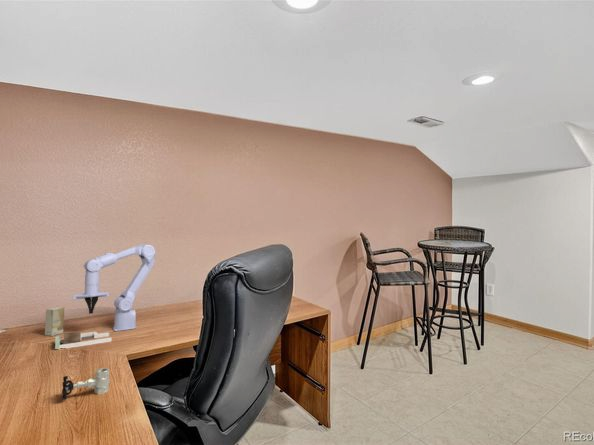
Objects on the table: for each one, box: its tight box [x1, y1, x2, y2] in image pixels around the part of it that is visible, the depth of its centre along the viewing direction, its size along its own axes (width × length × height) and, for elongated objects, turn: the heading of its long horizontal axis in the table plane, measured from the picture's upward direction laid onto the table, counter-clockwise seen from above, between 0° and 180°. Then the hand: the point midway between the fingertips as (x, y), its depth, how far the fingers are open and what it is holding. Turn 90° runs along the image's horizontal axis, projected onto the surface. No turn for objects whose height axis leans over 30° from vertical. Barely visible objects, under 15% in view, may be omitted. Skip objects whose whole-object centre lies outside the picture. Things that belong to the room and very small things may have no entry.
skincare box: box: [44, 306, 65, 337], centre depth 160 cm, size 6×4×12 cm
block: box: [63, 331, 82, 344], centre depth 146 cm, size 6×5×4 cm
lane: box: [54, 331, 113, 350], centre depth 151 cm, size 20×15×3 cm
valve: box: [61, 367, 110, 400], centre depth 102 cm, size 7×7×12 cm
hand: (90, 313), depth 161 cm, fingers closed
